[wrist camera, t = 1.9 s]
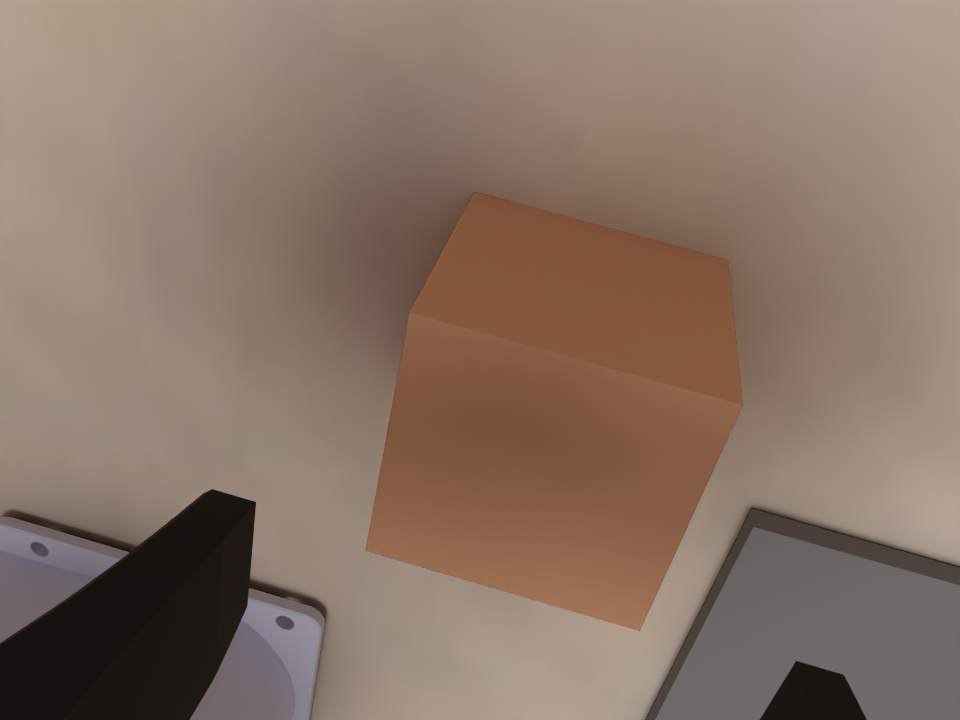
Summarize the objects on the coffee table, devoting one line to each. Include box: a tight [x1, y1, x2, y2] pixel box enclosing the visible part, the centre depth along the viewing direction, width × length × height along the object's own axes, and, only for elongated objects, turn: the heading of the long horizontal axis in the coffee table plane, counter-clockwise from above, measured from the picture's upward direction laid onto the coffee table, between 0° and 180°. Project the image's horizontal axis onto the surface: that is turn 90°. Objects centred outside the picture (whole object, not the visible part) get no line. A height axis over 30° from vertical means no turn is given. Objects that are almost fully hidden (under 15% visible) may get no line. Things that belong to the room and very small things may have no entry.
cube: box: [366, 192, 743, 631], centre depth 16 cm, size 5×5×5 cm
